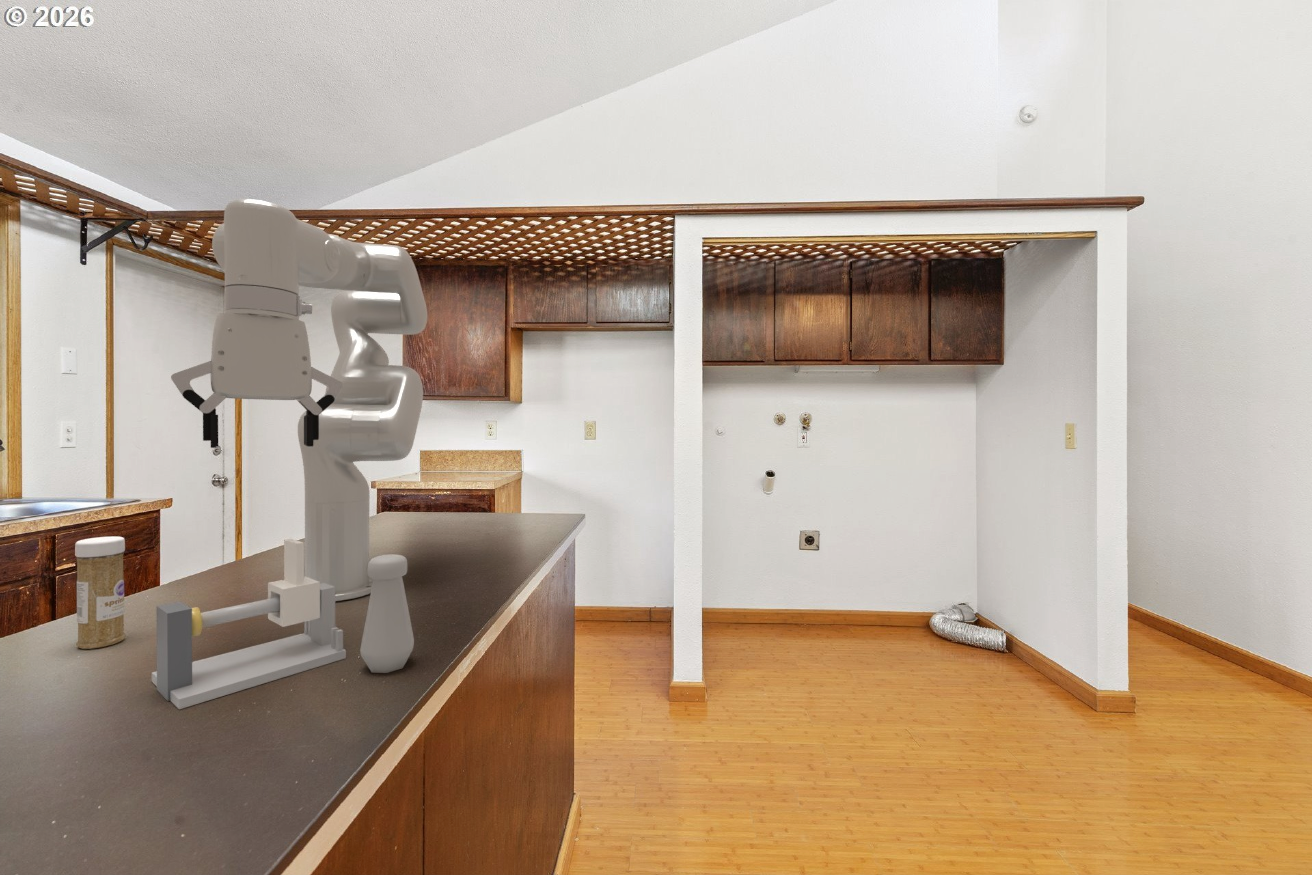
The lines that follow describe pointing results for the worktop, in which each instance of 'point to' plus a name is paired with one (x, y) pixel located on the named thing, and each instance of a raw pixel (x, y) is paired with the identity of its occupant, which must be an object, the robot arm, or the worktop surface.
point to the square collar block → (294, 589)
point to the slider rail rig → (244, 666)
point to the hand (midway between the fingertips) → (263, 446)
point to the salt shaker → (387, 616)
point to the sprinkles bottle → (100, 591)
